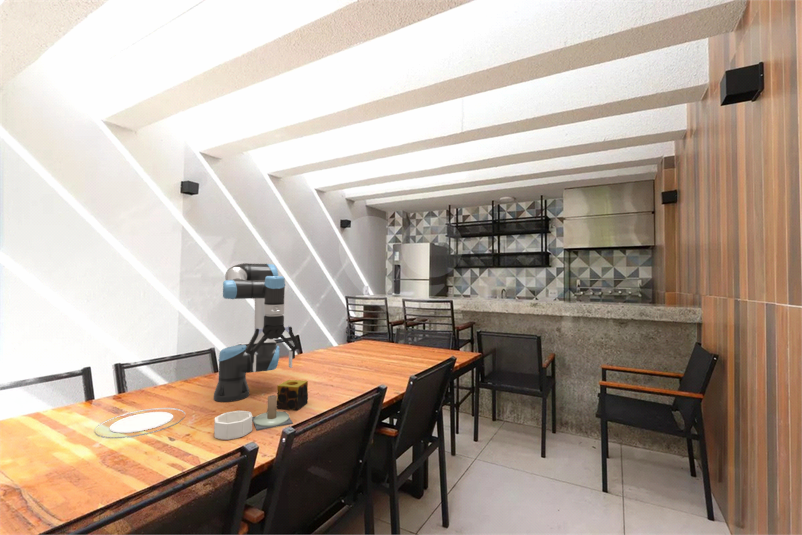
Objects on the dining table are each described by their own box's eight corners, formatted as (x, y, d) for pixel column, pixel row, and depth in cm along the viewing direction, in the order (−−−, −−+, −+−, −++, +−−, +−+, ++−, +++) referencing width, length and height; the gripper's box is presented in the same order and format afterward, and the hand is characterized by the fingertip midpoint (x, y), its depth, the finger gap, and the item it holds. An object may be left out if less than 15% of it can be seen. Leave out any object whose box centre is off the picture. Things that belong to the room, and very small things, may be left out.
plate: (101, 446, 116) (101, 444, 116) (89, 423, 135) (89, 421, 135) (195, 422, 137) (195, 420, 137) (173, 404, 156) (173, 403, 156)
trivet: (251, 418, 140) (251, 417, 140) (285, 412, 147) (285, 411, 147) (256, 430, 129) (256, 429, 129) (292, 423, 136) (292, 422, 136)
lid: (251, 416, 140) (252, 394, 141) (285, 411, 147) (285, 389, 147) (256, 429, 129) (257, 404, 129) (292, 422, 136) (293, 399, 136)
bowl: (213, 429, 130) (214, 414, 130) (249, 423, 136) (249, 408, 136) (215, 442, 119) (215, 426, 119) (253, 435, 125) (253, 419, 125)
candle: (297, 411, 149) (297, 387, 149) (275, 409, 151) (276, 385, 151) (308, 403, 159) (308, 380, 159) (287, 401, 161) (288, 379, 161)
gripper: (240, 317, 130) (239, 375, 129) (308, 314, 142) (306, 367, 142) (238, 315, 136) (237, 370, 136) (303, 312, 149) (302, 363, 148)
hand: (272, 369), depth 139 cm, fingers open, 13 cm apart
